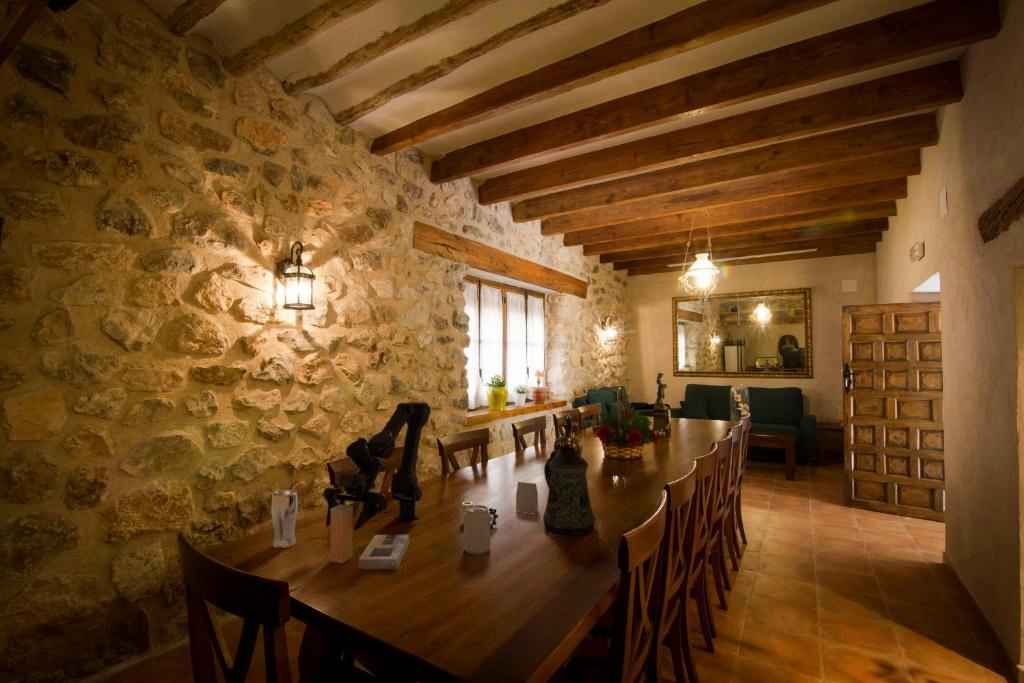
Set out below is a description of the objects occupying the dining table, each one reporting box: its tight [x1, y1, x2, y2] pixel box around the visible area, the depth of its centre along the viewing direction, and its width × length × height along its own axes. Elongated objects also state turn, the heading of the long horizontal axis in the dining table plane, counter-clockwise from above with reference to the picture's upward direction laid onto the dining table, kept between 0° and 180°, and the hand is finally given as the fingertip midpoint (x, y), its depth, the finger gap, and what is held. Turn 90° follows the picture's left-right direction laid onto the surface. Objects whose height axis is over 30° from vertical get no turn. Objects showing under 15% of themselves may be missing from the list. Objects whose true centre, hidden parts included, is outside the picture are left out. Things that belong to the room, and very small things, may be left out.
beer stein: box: [542, 446, 596, 538], centre depth 154 cm, size 16×19×25 cm
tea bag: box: [515, 481, 539, 515], centre depth 169 cm, size 4×7×10 cm, turn 67°
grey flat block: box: [357, 534, 410, 570], centre depth 133 cm, size 16×10×3 cm, turn 1°
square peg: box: [330, 504, 354, 564], centre depth 131 cm, size 4×4×14 cm
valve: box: [460, 501, 499, 530], centre depth 156 cm, size 7×7×12 cm
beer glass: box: [271, 489, 299, 549], centre depth 141 cm, size 7×7×15 cm
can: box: [463, 504, 491, 556], centre depth 137 cm, size 8×8×12 cm
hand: (341, 527), depth 131 cm, fingers open, 9 cm apart
